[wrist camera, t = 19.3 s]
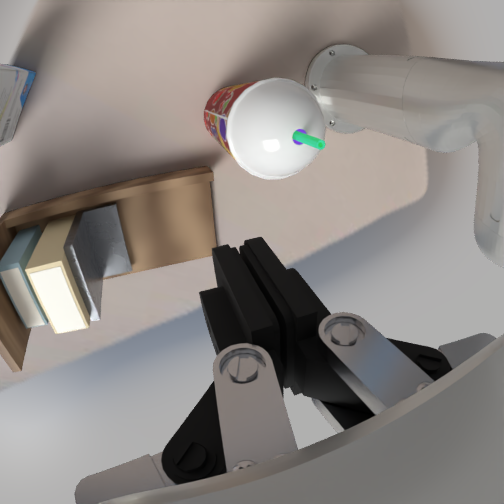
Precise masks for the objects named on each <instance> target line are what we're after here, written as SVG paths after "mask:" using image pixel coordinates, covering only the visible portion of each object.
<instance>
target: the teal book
mask: <svg viewBox="0 0 504 504" xmlns="http://www.w3.org/2000/svg"><path fill="white" fill-rule="evenodd" d="M41 235H42V232H41V229H40V226H39V225H36V226H33V227H29V228H26V229H22V230H19V232H18V233H17V235H16V236H15V238H14V240H13V241H12V243H11V244H10V246H9V248H8V249H7V251H6V253H5V254H4V256H3V258H2V259H1V261H0V278H1V280H2V282H3V285H4V287H5V289H6V291H7V293H8V295H9V297H10V299H11V301H12V303H13V305H14V307H15V309H16V311H17V313H18V314H19V316H20V318H21V320H22V322H23V324H24V325H25V327H26V329H27V328H32V327H37V326H42V325H47V324H48V321H49V320H48V318H47V316H46V314H45V312H44V310H43V308H42V306H41V304H40V302H39V300H38V298H37V296H36V294H35V291H34V289H33V287H32V285H31V282H30V280H29V278H28V276H27V273H26V271H25V269H26V266H27V264H28V262H29V260H30V258H31V256H32V254H33V251H34V249H35V247H36V245H37V243H38V241H39V239H40V237H41Z"/></svg>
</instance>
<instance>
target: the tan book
mask: <svg viewBox="0 0 504 504" xmlns="http://www.w3.org/2000/svg"><path fill="white" fill-rule="evenodd" d="M74 217H75V215H72V216H68V217H64V218H60V219H56V220H53V221H49V222H48V224H47V226H46V228H45V230H44V232H43V234H42V235H41V237H40V239H39V241H38V243H37V245H36V247H35V249H34V251H33V254H32V256H31V258H30V260H29V262H28V264H27V266H26V269H25V271H26V273H27V276H28V278H29V280H30V282H31V285H32V287H33V289H34V291H35V294H36V296H37V298H38V300H39V302H40V304H41V306H42V308H43V310H44V312H45V314H46V316H47V318H48V320H49V322H50V324H51V326H52V328H53V330H54V332H55V333H56V334H60V333H65V332H70V331H75V330H80V329H85V328H89V324H90V316H89V313H88V311H87V309H86V306H85V304H84V302H83V299H82V297H81V294H80V292H79V289H78V287H77V284H76V282H75V279H74V277H73V274H72V271H71V268H70V266H69V263H68V260H67V257H66V254H65V252H64V249H63V246H64V244H65V241H66V238H67V235H68V233H69V230H70V227H71V225H72V222H73V220H74Z"/></svg>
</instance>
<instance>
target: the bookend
mask: <svg viewBox="0 0 504 504" xmlns="http://www.w3.org/2000/svg"><path fill="white" fill-rule="evenodd" d="M63 249H64V252H65V254H66V257H67V260H68V263H69V266H70V268H71V271H72V274H73V277H74V279H75V282H76V284H77V287H78V289H79V292H80V294H81V297H82V299H83V302H84V304H85V306H86V309H87V311H88V313H89V316H90V318H91V320H92V321H95V320H100V315H101V298H102V284H103V277H107V276H112V275H116V274H121V273H125V272H130V271H132V265H131V261H130V257H129V253H128V250H127V246H126V242H125V238H124V234H123V230H122V225H121V221H120V217H119V212H118V208H117V203H116V202H115V203H111V204H106V205H102V206H98V207H94V208H90V209H85V210H81V211H77V212H76V215H75V217H74V220H73V222H72V225H71V227H70V230H69V233H68V235H67V238H66V241H65V244H64V246H63Z"/></svg>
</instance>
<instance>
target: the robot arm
mask: <svg viewBox="0 0 504 504" xmlns="http://www.w3.org/2000/svg"><path fill="white" fill-rule="evenodd" d="M329 53H330V54H329ZM311 86H312V89H311ZM305 87H306V88H307V89H308V90H309V91H310V92H311V93H312V94H313V95H314V96H315V97H316V99H317V101H318V103H319V105H320V107H321V109H322V113H323V116H324V121H325V127H327V128H329V129H330V130H333V131H336V132H339V133H344V134H348V133H355V132H359V131H361V130H363V129H365V128H366V129H370V130H373V131H376V132H380V133H383V134H386V135H389V136H392V137H396V138H399V139H402V140H405V141H408V142H410V143H413V144H416V145H419V146H422V147H425V148H428V149H431V150H433V151H437V152H444V153H445V152H446V153H447V152H455V151H458V150H461V149H463V148H465V147H467V146H469V145H471V144H472V143H474V142H475V141H477V143H478V148H479V160H478V162H479V172H478V185H477V195H476V206H475V215H474V234H475V239H476V242H477V245H478V247H479V248H480V250H481V252H482V253H483V254H484V255H485V256H486V257H487V258H488V259H489V260H490V261H492V262H493V263H495V264H497V265H498V266H500V267H502V268H504V62H486V61H468V60H456V59H445V58H435V57H419V56H401V55H369V54H368V53H366V52H365V51H364V50H362V49H360V48H358V47H356V46H352V45H345V44H340V45H333V46H330V47H327V48H326V49H324V50H322V51H321V52H320V53H319V54H318V55H316V56H315V58H314V59H313V61H312V62H311V64H310V66H309V68H308V71H307V75H306V79H305ZM239 250H240V254H239V252H238V250H237V249H236V247H233V248H230V246H229V245H228V244H227V245H223V246H219V247H214V248H212V256H213V262H214V268H215V274H216V280H217V286H218V287H217V288H213V289H209V290H205V291H201V292H199V294H200V299H201V304H202V308H203V312H204V316H205V320H206V323H207V327H208V330H209V334H210V337H211V340H212V343H213V346H214V349H215V352H216V355H217V357H216V359H215V361H214V363H213V375H214V381H213V383H212V384H211V385H210V387H209V389H208V390H207V391H206V393H205V394H204V395H203V397H202V398H201V399H200V401H199V402H198V404H197V405H196V406H195V407H194V409H193V410H192V412H191V413H190V414H189V416H188V417H187V418H186V420H185V421H184V423H183V424H182V425H181V426H180V428H179V429H178V431H177V432H176V433H175V434H174V436H173V437H172V438H171V440H170V441H169V442H168V444H167V445H166V447H165V449H164V450H163V452H160V453H158V454H155V455H153V456H150V455H149V454H147V455H145V456H142V457H140V458H137V459H135V460H132V461H129V462H127V463H124V464H121V465H119V466H116V467H113V468H110V469H107V470H105V471H102V472H99V473H96V474H93V475H90V476H87V477H85V478H84V479H82V480H81V481H80V482H79V484H78V485H77V486H76V490H75V500H76V504H504V334H503V335H501V336H500V337H499V338H497V339H496V338H495V337H494V336H492V335H490V334H486V333H480V334H477V335H473V336H470V337H467V338H465V339H461V340H458V341H455V342H452V343H448V344H445V345H442V346H439V348H438V350H437V349H434V348H431V347H427V346H422V345H417V344H412V343H408V342H403V341H398V340H393V339H388V338H385V337H384V336H383V335H382V334H381V333H380V332H378V331H377V330H376V329H375V328H374V327H373V326H372V325H370V324H369V323H368V322H367V321H366V320H365V319H363V318H361V317H360V316H358V315H355V314H352V313H345V312H342V313H334V314H332V315H331V313H330V312H329V311H328V310H327V308H326V307H325V306H324V305H323V303H322V302H321V301H320V299H319V298H318V297H317V296H316V294H315V293H314V292H313V290H312V289H311V288H310V287H309V286H308V284H307V283H306V282H305V280H304V279H303V278H302V277H301V275H300V274H299V273H298V272H297V271H296V270H295V269H294V268H291V269H287V270H286V268H285V267H284V266H283V264H282V263H281V262H280V260H279V259H278V258H277V256H276V255H275V254H274V252H273V251H272V250H271V249H270V247H269V246H268V245H267V243H266V242H265V241H264V239H263V238H262V237H258V238H253V239H249V240H245V241H244V245H242V246H240V248H239ZM283 386H284V388H289V387H290V388H291V390H292V392H293V394H294V395H297V394H299V393H302V394H303V395H304V396H307V397H311V398H312V401H313V403H314V405H315V406H316V407H317V409H318V410H319V411H320V412H321V414H322V415H323V416H324V417H325V419H326V420H327V421H328V422H329V423H330V425H331V426H332V427H333V428H334V429H335V431H336V432H337V433H338V434H336V435H334V436H331V437H329V438H327V439H324V440H322V441H320V442H317V443H315V444H312V445H310V446H308V447H305V448H302V449H299V450H298V448H297V444H296V441H295V438H294V434H293V431H292V427H291V424H290V421H289V418H288V414H287V410H286V407H285V404H284V400H283Z"/></svg>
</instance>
